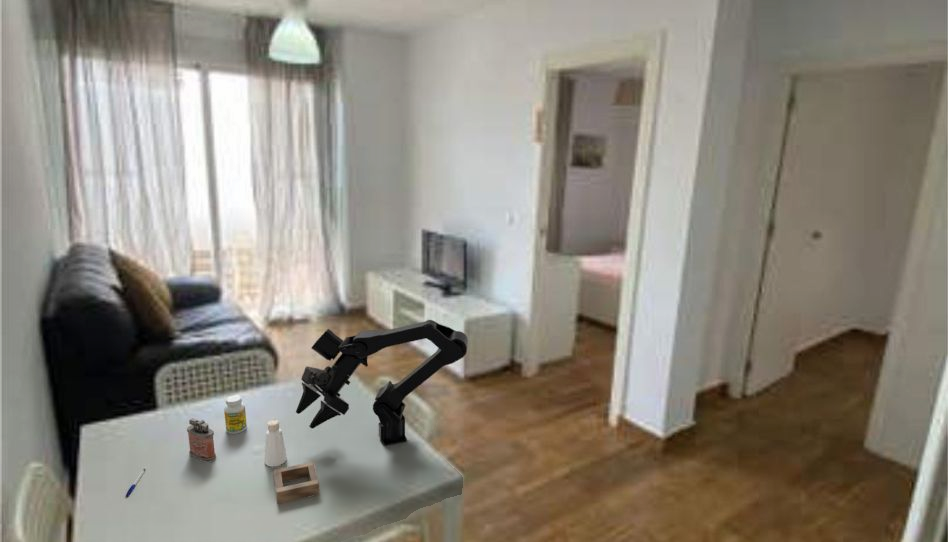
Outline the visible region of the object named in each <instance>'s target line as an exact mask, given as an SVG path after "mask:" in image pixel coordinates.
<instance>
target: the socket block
mask: <svg viewBox="0 0 948 542" xmlns="http://www.w3.org/2000/svg"><path fill="white" fill-rule="evenodd" d="M273 477H274V488H275V494H276V495H275V496H276V503H277V505H279V504H283V503H289V502H291V501H297V500H301V499H304V498H305V499H307V498H310V497H313V496H319V495H320V484H319V483H320V482H319V478H318V475H317V471H316V467H315V462H314V461H310V462H305V463H300V464H295V465H290V466H286V467H285V466H284V467H280V468H275V469H273ZM306 478H308V481H304V482H301V483H296V484H290V485H287V486H284V484H283V483H286V482H285V481H288V482H292V481H297V480H301V479H306ZM291 480H292V481H291ZM282 482H283V483H282ZM288 501H289V502H288Z"/></svg>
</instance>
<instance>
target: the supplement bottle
mask: <svg viewBox="0 0 948 542" xmlns="http://www.w3.org/2000/svg"><path fill="white" fill-rule="evenodd" d="M225 404H226V405H225V406H224V409H223V411H224V420H225V431H226V432H227V434H233V435H235V434H240V433H242V432H243V431H245V430H246V429H247V427H248V426H247V424H248V423H247V417H246V416H247V413H246V405H245V403H243V399H242V396H240V395H238V394H237V395H230V396H229V397H226V399H225Z"/></svg>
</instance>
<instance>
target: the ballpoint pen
mask: <svg viewBox="0 0 948 542" xmlns="http://www.w3.org/2000/svg"><path fill="white" fill-rule="evenodd" d="M145 472H146V468H143V469H142V470H141V472H140V473H139V475H138V476H137V478H136V479H135V481H134V482H133V483H132V485H130V487H129V488H128V490H127V492H126V494H125V498H128V497H129V496H130V495H131V494H132V492H133V491H134V489H135V488H136V486H137V484H138V482H139V481H140V479H141V478H142V476H143V475H144V473H145Z"/></svg>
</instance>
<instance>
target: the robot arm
mask: <svg viewBox="0 0 948 542" xmlns="http://www.w3.org/2000/svg"><path fill="white" fill-rule="evenodd" d="M425 339H427V340H428V341H430V342H431V343H432V344H433V345H434V346H436V348H437V350H436V351H435V352H434V353H433V354H432V355H430V356H429V357H428V358H426V359H425V360H424V361H423V362H422V363H421V364H419V365H418V366H417V367H415V368H414V370H412V371H410V373H408V374H407V375H406V376H405V377H404V378H402V379H401V380H399V382H396V383H393V382H392V381H391V380H389V381H388V382H387V383H386V384H385V385H384V386H381V387H380V388H379V390H378V391H377V394H376V396H375V398H374V403H373V404H372V411H373V413H374V414H375V415H376V416H377V418H378V420H379V422H378V437H379V439H380V441H382V444H383V446H388V445H393V444H398V443H404V442H407V441H408V438H407V437H406V417H405V415H404V414H403V413H404V411H405V408H406V406H407V405H406V403H404V399H406V397H407V396H409V395H410V394H411V393H412V392H414V391H415V390H416V389H418V388H419V386H421V385H422V384H423V383H425V381H427V380H428V379H430V378H431V377H432V376H433V375H434V374H436V373H437V372H438V371H440V370H441V369H442V368H444V367H445V366H448V365H453V364H454V363H456V362H457V361H460V360H461V359H463V358H464V357H465V356H466V355H467V352H468V345H469V339H468V336H467V334H466V333H464V332H463V331H460V330H455V329H453V328H451V327H448V326H447V325H444V324H441V323H438V322H437V321H435V320H432V319H427V320H425V321H420V322H417V323H412V324H409V325H404V326H400V327H395V328H391V329H386V330H379V329H378V330H377V329H363V330H360V331H359V332H357V333H356V334H355V335H351V336H350V335H349V336H346V337H345V338H344V339H342V338H340V336H338V335H336V334H335V333H334V332H333V331H332V330H331V329H329V328H326V330H325V331H324V333H323V334H321V336H320V337H319V338H318V339H317V340H316V341H315V342H314V343H313V345H312V346H311V349H312V350H313V351H314V352H316V353H317V354H319V356H321V357H323V358H324V359H325V360H327V361H331V360H333V361H334V360H335V359H336V358H337V356H338V355H339V356H338V358H337V359H336V360H335V361H334V362H333V364H332V365H331V366H329V365H328V366H326V367H325V368H324V369H320V368H316V367H313V366H305V368H304V370H303V373H302V376H301V379H300V380H301V381H302V382H301V385H302V391H303V392H302V394H301V398H300V399H299V403H298V405H297V408H296V409H295V410H296V411H295V413H296V414H298V415H299V414H301V413H302V412H304V411H305V410H306V409H307V408H309V407H310V406H311V405H312V404H313V403H314V402H315V401H317V400H318V399H319V398H320V397H321V395H322V396H323V400H320V408H319V410H318V411H317V413H316V414H315V416H314V417H313V419H312V420H311V422H310V423H309V426H308V427H309V428H311V429H314V428H316V427H318V426H320V425H322V424H323V423H326V422H327V421H329V420H331V419H334V418H335V417H337V416H341V415H343V416H345V415H346V414H347V412H348V411H349V409H350V404H349V403H348V402H347V401H345V400H344V399H343V398H341V393H340V391H341V390H342V389H343V388H344V386H345V385H347V386H349V385H350V384H351V381H350V380H349V379H350V378H351V377H352V375H354V373H355V372H356V370H357V369H358V367H359V366H360V365H361V364H362V365H363V366H364V367H366V368H367V367H368V366H369V365H368V357H369V356H371V355H374V354H376V353H379V351H381V350H384V349H385V348H389V347H394V346H399V345H402V344H403V345H404V344H406V343H411V342H416V341H421V340H425ZM340 353H341V354H340Z"/></svg>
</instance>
